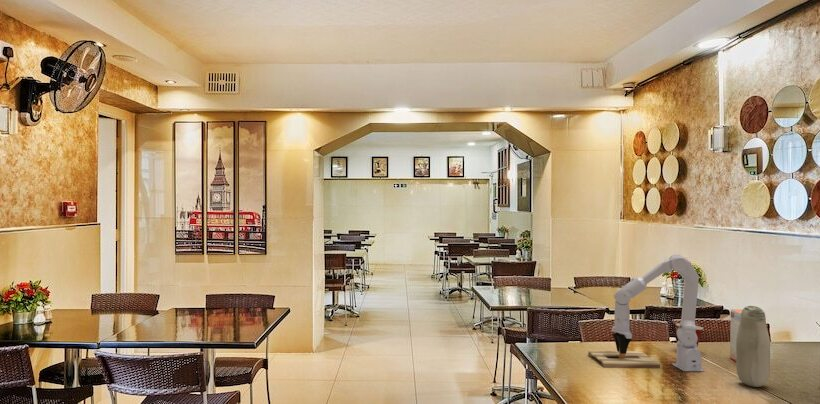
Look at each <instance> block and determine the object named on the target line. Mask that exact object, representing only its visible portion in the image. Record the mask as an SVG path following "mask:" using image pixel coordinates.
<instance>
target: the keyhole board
mask: <svg viewBox="0 0 820 404" xmlns="http://www.w3.org/2000/svg"><path fill="white" fill-rule="evenodd" d="M587 351H588V352H587V356H588V357H590V358H595V359H597V360H598V361H599V362H601V366H602V367H603V368H618V369H619V368H622V369H623V368H624V369H626V368H627V369H633V368H634V369H661V363H660V362H659V361H658V360H656V359H654V358H652V357H650V355H647V354H645V353H643V352H642V351H640V350H639V351H638V350H637V351H636V350H635V351H634V350H632V351H631V350H630V351H629V350H627V352H626V354H625V358H622V359H617V358H619V352H618V351H617V350H587Z"/></svg>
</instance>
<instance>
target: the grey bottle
mask: <svg viewBox="0 0 820 404" xmlns="http://www.w3.org/2000/svg"><path fill="white" fill-rule="evenodd" d="M741 310H742V312H741V318H740V325H739V329H738V333H737V338H736V362H735V365H736V369H735V370H736V373H737V374H736V375H737V377H738V379H739V380H740V382H742V383H743V384H745V385H746V386H748V387H753V388H761V387H763V386H766V384H767V383H768V381H769V379H770V375H771V374H770V373H771V372H770V371H771V370H770V369H771V339H770V335H769V331H768V327H767V321H766V319H767V318H766V313H765V312H764V309H762V308H761V307H759V306H756V305H748V306H744V307H743V308H742V309H741Z"/></svg>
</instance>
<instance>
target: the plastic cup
mask: <svg viewBox="0 0 820 404" xmlns="http://www.w3.org/2000/svg"><path fill="white" fill-rule="evenodd" d="M675 325H676V330H677V329H678V328H679V326H680V322H678V323H676V324H675ZM695 326H696V335H697V337H698V340H697V343H696V344H697V348H698V346H699V343H700V339H701V338H700V337H701V334H702V332H703V330H704V327H701V326H699V325H695Z"/></svg>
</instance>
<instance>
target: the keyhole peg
mask: <svg viewBox="0 0 820 404" xmlns="http://www.w3.org/2000/svg"><path fill="white" fill-rule="evenodd" d="M622 358H625V354H621V353H620V348H619V358H616V359H622Z"/></svg>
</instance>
